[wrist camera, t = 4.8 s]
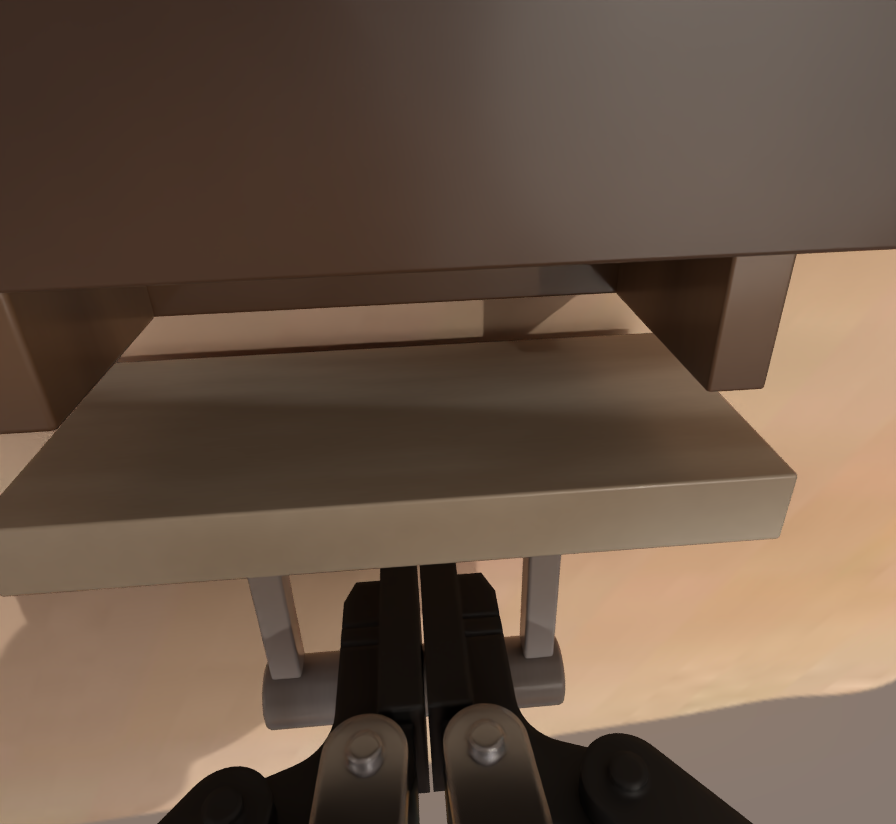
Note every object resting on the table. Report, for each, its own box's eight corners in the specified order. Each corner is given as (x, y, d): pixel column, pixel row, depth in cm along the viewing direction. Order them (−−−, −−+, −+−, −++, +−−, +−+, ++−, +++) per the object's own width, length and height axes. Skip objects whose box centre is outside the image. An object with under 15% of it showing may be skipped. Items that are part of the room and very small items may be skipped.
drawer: (626, 566, 17) (715, 758, 12) (189, 600, 16) (110, 815, 12) (806, -633, 8) (1442, -1665, 3) (-206, -666, 7) (-1353, -2043, 2)
